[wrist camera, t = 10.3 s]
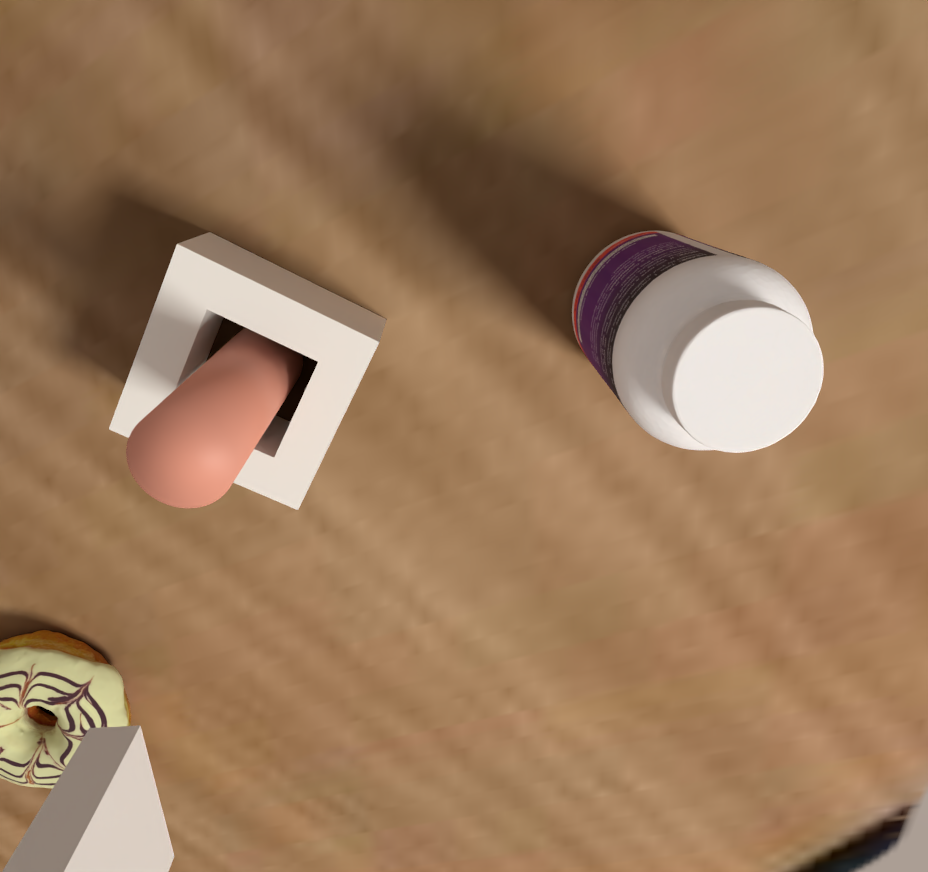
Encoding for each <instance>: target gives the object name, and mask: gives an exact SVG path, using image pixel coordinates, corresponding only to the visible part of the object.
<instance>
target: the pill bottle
mask: <svg viewBox="0 0 928 872" xmlns="http://www.w3.org/2000/svg"><path fill="white" fill-rule="evenodd" d="M572 320H573V328H574V332H575V336H576V338H577V341H578V343H579V345H580V347H581V349H582V351H583V352H584V354H585V355H586V357H587V358H588V360H589V361H590V362H591V364H592V365H593V366H594V368H595V369H596V370H597V371H598V373H599V374H600V375H601V377H602V378H603V379H604V381H605V382H606V384H607V385H608V386H609V387H610V389H611V390H612V391H613V393H614V394H615V395H616V397H617V398H618V399H619V401H620V402H621V404H622V405H623V406H624V408H625V409H626V410H627V412H628V413H629V414H630V416H631V417H632V418H633V419H634V420H635V421H636V422H637V424H638V425H639V426H640V427H642V428H643V429H644V430H645V431H646V432H648V433H649V434H650V435H652V436H653V437H655V438H657V439H659V440H661V441H663V442H665V443H667V444H670V445H673V446H676V447H679V448H684V449H690V450H719V451H724V452H733V453H739V452H749V451H755V450H758V449H761V448H764V447H767V446H769V445H772V444H774V443H776V442H777V441H779V440H781V439H782V438H784V437H785V436H787V435H788V434H790V433H791V432H792V431H793V430H794V429H796V428H797V427H798V426H799V425H800V424H801V423H802V421H803V420H804V419H805V418H806V416H807V415H808V414H809V412H810V411H811V409H812V407H813V406H814V404H815V402H816V400H817V397H818V395H819V392H820V389H821V385H822V380H823V357H822V352H821V349H820V346H819V343H818V341H817V339H816V338H815V336H814V334H813V328H812V323H811V319H810V316H809V313H808V310H807V308H806V305H805V303H804V302H803V300H802V298H801V296H800V295H799V293H798V292H797V291H796V289H795V288H794V287H793V286H792V285H791V284H790V282H789V281H788V280H786V279H785V278H784V277H783V276H782V275H780V274H779V273H778V272H777V271H775V270H773V269H772V268H770V267H768V266H766V265H764V264H762V263H760V262H757V261H755V260H752V259H749V258H746V257H743V256H740V255H736V254H734V253H730V252H728V251H724V250H722V249H719V248H716V247H713V246H710V245H707V244H704V243H701V242H699V241H696V240H693V239H690V238H688V237H685V236H682V235H679V234H675V233H671V232H666V231H643V232H637V233H634V234H630V235H628V236H625V237H622V238H620V239H618V240H616V241H614V242H613V243H611V244H610V245H608V246H607V247H605V248H604V249H603V250H602V251H600V252H599V253H598V254H597V255H596V256H595V257H594V258H593V260H592V261H591V262H590V263H589V265H588V266H587V267H586V269H585V270H584V272H583V274H582V275H581V277H580V279H579V282H578V284H577V287H576V290H575V293H574V298H573V305H572Z"/></svg>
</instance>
